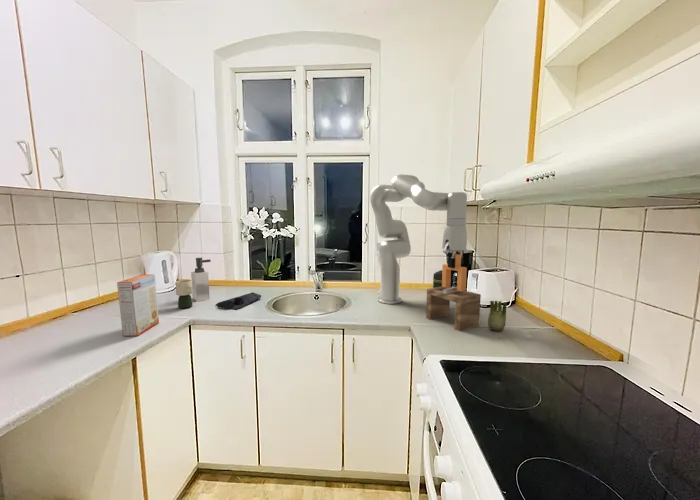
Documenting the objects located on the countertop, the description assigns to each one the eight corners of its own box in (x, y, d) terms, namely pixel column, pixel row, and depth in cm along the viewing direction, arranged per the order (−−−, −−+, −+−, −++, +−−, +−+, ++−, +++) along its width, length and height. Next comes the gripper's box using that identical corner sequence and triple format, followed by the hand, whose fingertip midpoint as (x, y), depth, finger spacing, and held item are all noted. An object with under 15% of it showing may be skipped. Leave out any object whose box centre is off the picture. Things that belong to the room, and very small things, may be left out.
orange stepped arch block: (441, 286, 135) (443, 253, 133) (446, 285, 137) (447, 252, 135) (460, 291, 127) (462, 255, 125) (465, 290, 128) (467, 255, 127)
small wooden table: (425, 317, 138) (427, 285, 136) (444, 313, 145) (446, 282, 143) (459, 331, 123) (461, 294, 121) (478, 325, 129) (480, 290, 128)
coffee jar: (447, 313, 144) (449, 273, 142) (430, 310, 148) (431, 272, 145) (451, 307, 153) (452, 270, 151) (434, 305, 156) (436, 268, 154)
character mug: (199, 307, 152) (197, 280, 151) (185, 311, 146) (183, 283, 145) (185, 303, 158) (183, 278, 156) (171, 307, 152) (169, 281, 150)
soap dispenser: (214, 298, 167) (212, 257, 165) (196, 301, 162) (194, 259, 159) (209, 296, 172) (207, 256, 169) (192, 299, 166) (190, 257, 164)
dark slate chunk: (266, 299, 167) (266, 291, 166) (235, 311, 147) (234, 302, 146) (244, 296, 173) (244, 288, 173) (211, 307, 154) (211, 298, 153)
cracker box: (145, 323, 131) (141, 273, 128) (159, 323, 131) (156, 273, 128) (121, 336, 117) (116, 281, 114) (137, 336, 117) (132, 281, 114)
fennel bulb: (506, 331, 123) (508, 301, 122) (500, 334, 120) (502, 303, 119) (491, 326, 128) (493, 298, 126) (485, 329, 125) (487, 300, 123)
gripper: (461, 222, 136) (459, 264, 138) (435, 223, 127) (433, 267, 130) (476, 222, 130) (474, 266, 132) (449, 223, 121) (447, 270, 123)
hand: (454, 266), depth 131 cm, fingers closed on orange stepped arch block, 3 cm apart
